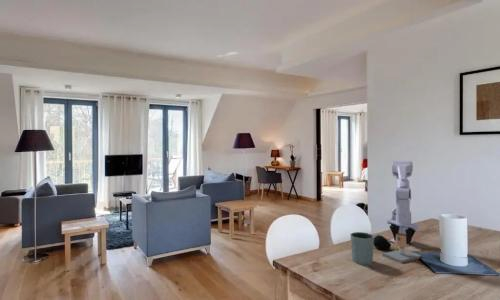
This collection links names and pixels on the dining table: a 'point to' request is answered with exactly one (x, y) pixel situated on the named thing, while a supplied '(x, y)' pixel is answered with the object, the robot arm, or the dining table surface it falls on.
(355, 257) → the green cup
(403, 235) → the collar
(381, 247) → the light bulb
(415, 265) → the dining table surface
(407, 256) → the duct plate
